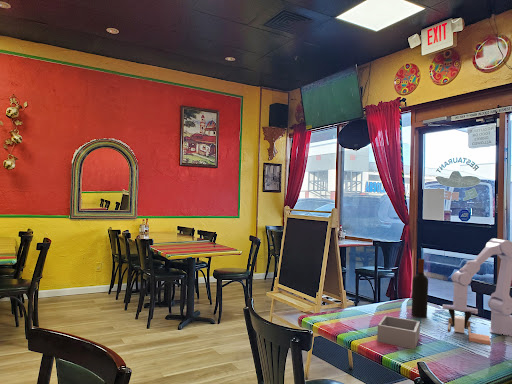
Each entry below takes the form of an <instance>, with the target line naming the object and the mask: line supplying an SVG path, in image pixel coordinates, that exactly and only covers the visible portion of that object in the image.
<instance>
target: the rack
mask: <svg viewBox="0 0 512 384" xmlns="http://www.w3.org/2000/svg"><path fill="white" fill-rule="evenodd" d="M451 326H453V323H452V319H451V317H448V325H447V332H449V333H450V332H451ZM466 328H467V335H468V336H469V332H470V333H472V330H471V320H468V322H467V325H466Z"/></svg>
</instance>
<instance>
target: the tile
mask: <svg viewBox="0 0 512 384" xmlns="http://www.w3.org/2000/svg"><path fill="white" fill-rule="evenodd" d="M468 341H469V342H473V343H477V344H478V343H479V344H485V345H491V338H490V335H486V334H480V333H474V332H471V333H470V332H469V335H468Z"/></svg>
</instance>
